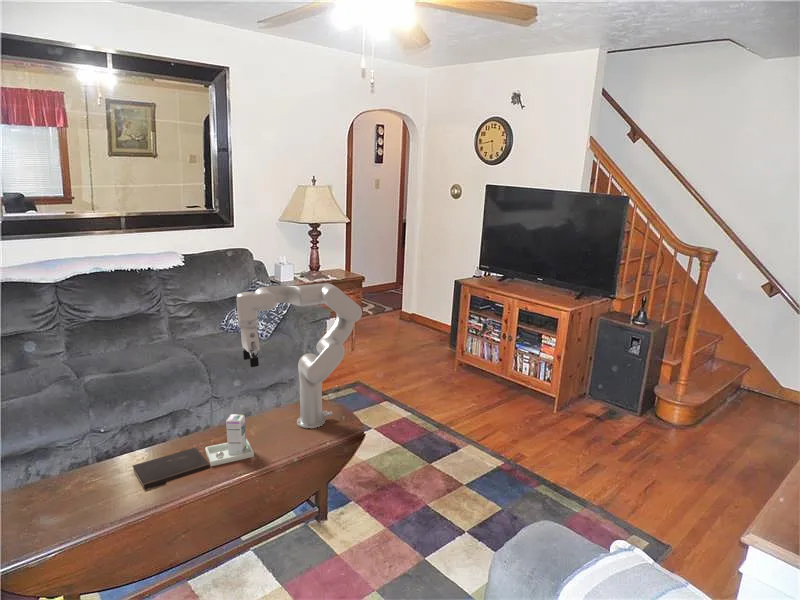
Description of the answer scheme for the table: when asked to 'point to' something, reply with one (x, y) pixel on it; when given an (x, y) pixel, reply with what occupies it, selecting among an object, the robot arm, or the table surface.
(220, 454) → the mixing ball
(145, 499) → the table surface
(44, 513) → the table surface
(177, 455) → the hardcover book
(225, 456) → the tray
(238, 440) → the syrup box
